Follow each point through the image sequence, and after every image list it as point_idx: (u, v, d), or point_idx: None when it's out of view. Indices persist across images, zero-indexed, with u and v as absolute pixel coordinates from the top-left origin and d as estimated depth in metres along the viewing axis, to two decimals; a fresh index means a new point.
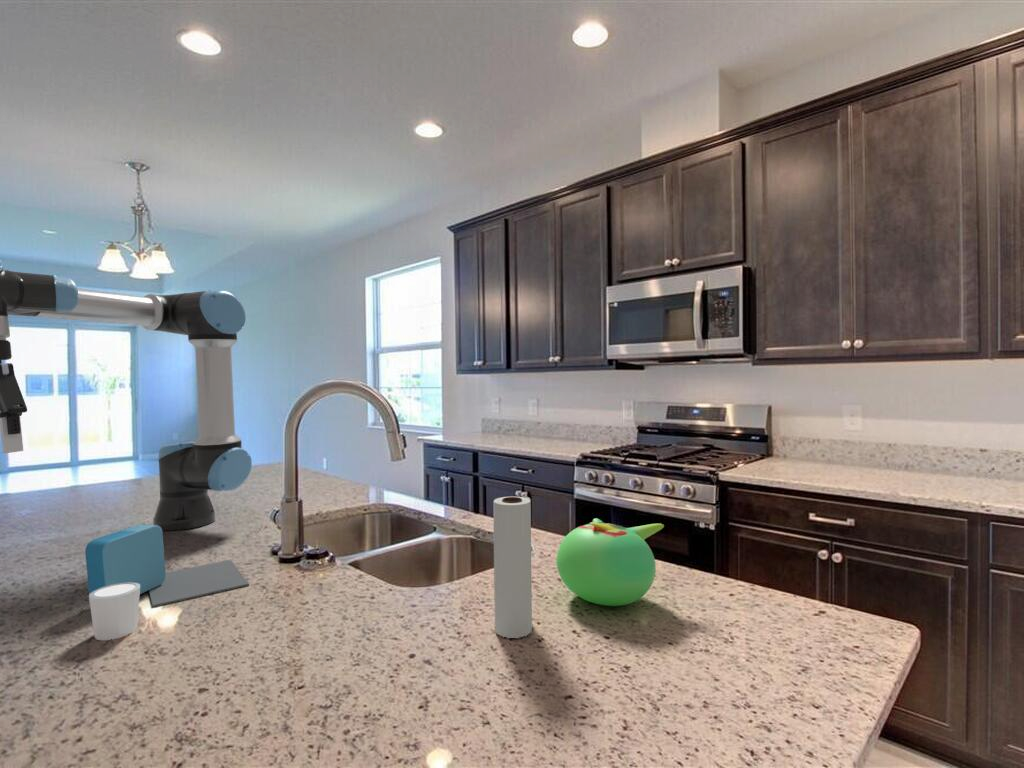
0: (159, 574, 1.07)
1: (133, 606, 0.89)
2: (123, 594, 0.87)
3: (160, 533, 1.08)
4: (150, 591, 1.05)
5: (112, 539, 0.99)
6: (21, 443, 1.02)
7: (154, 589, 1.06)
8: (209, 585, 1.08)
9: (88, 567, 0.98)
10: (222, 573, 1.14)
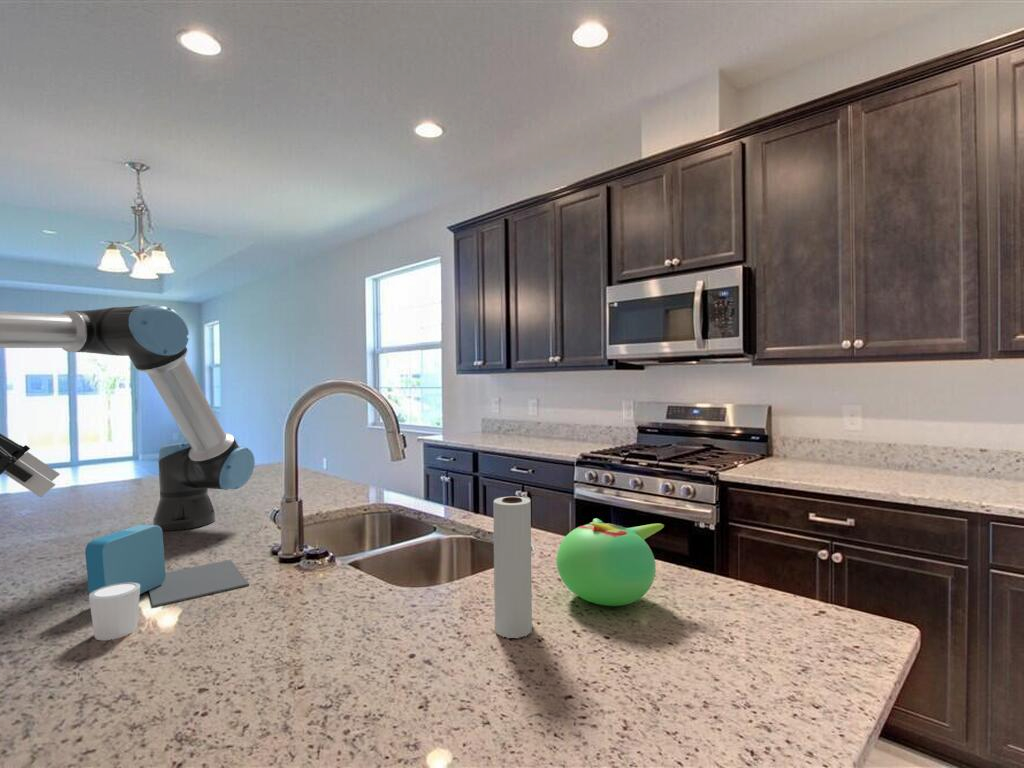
0: (159, 574, 1.07)
1: (133, 606, 0.89)
2: (123, 594, 0.87)
3: (160, 533, 1.08)
4: (150, 591, 1.05)
5: (112, 539, 0.99)
6: (46, 480, 0.91)
7: (154, 589, 1.06)
8: (209, 585, 1.08)
9: (88, 567, 0.98)
10: (222, 573, 1.14)
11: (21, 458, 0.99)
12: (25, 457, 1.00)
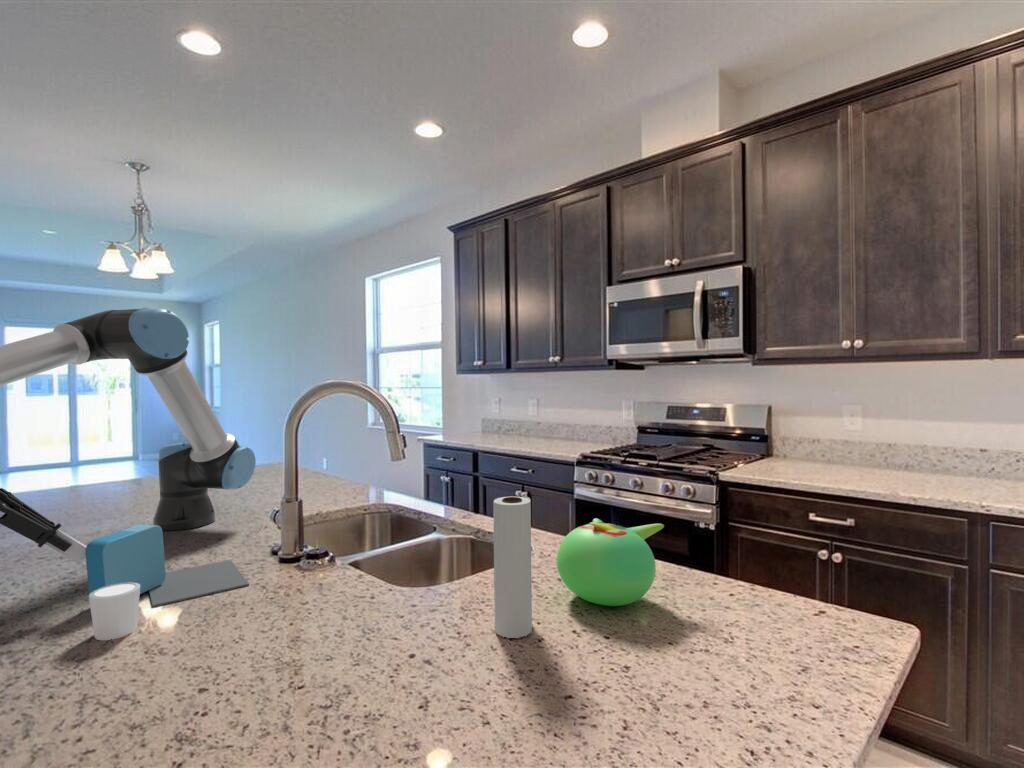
0: (159, 574, 1.07)
1: (133, 606, 0.89)
2: (123, 594, 0.87)
3: (160, 533, 1.08)
4: (150, 591, 1.05)
5: (112, 539, 0.99)
6: (84, 547, 0.99)
7: (154, 589, 1.06)
8: (209, 585, 1.08)
9: (88, 567, 0.98)
10: (222, 573, 1.14)
11: None
12: None
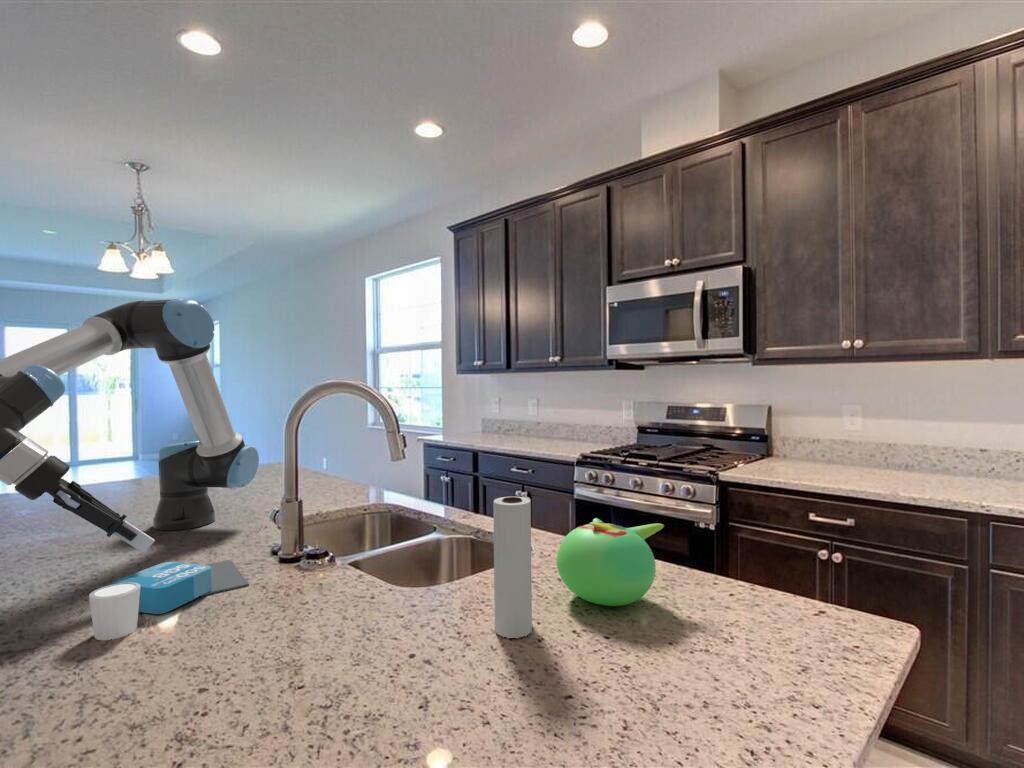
0: None
1: (133, 606, 0.89)
2: (123, 594, 0.87)
3: None
4: None
5: (172, 606, 0.96)
6: (147, 537, 1.05)
7: None
8: None
9: (140, 590, 0.95)
10: (222, 573, 1.14)
11: None
12: None
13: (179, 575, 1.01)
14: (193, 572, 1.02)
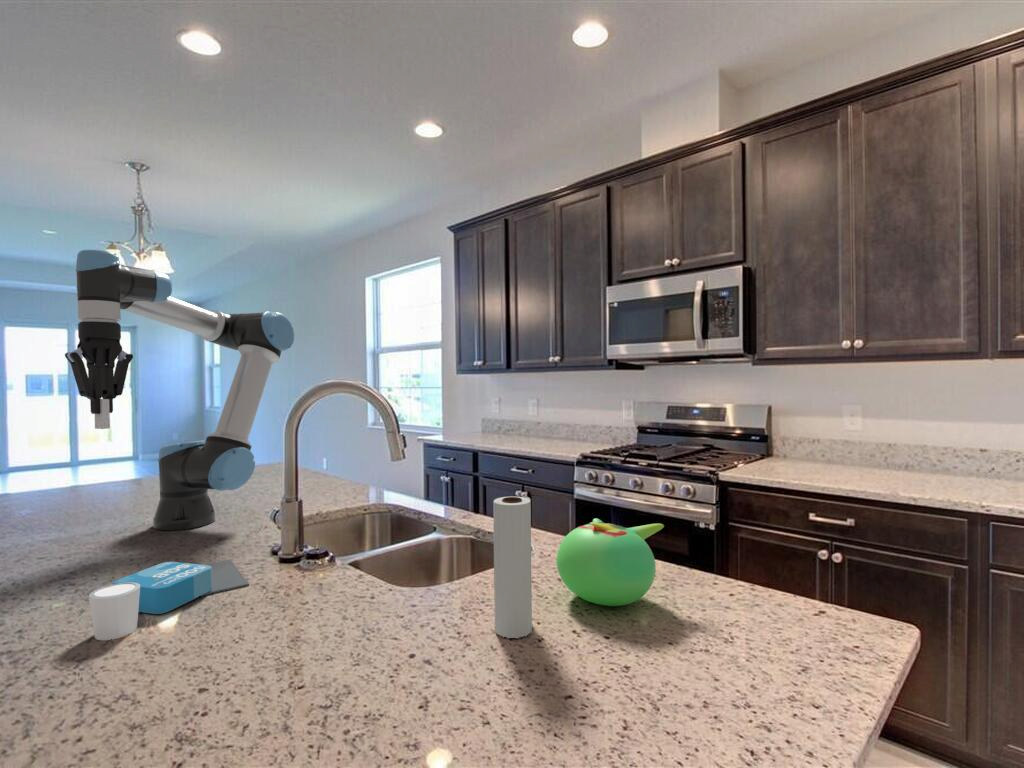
0: None
1: (133, 606, 0.89)
2: (123, 594, 0.87)
3: None
4: None
5: (172, 606, 0.96)
6: (102, 422, 1.20)
7: None
8: None
9: (140, 590, 0.95)
10: (222, 573, 1.14)
11: None
12: None
13: (179, 575, 1.01)
14: (193, 572, 1.02)
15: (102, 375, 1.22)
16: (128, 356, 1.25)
